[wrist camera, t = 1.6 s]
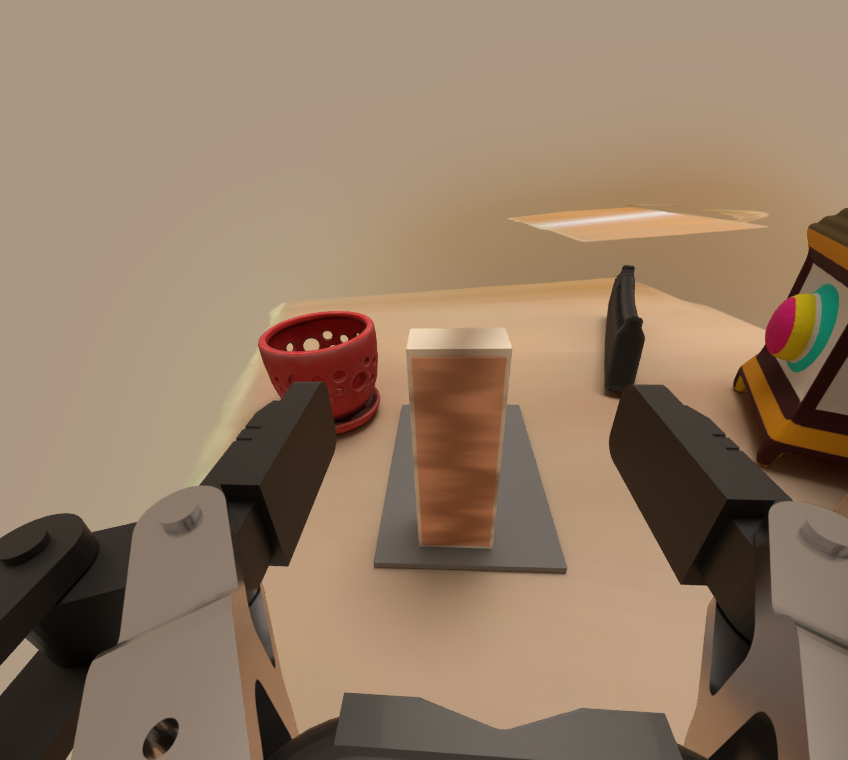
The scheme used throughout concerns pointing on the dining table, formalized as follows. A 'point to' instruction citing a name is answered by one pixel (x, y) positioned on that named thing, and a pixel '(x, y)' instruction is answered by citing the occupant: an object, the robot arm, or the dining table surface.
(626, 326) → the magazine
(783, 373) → the decorative lantern
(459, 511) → the slab
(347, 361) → the plant pot
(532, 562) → the mat
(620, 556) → the dining table surface
